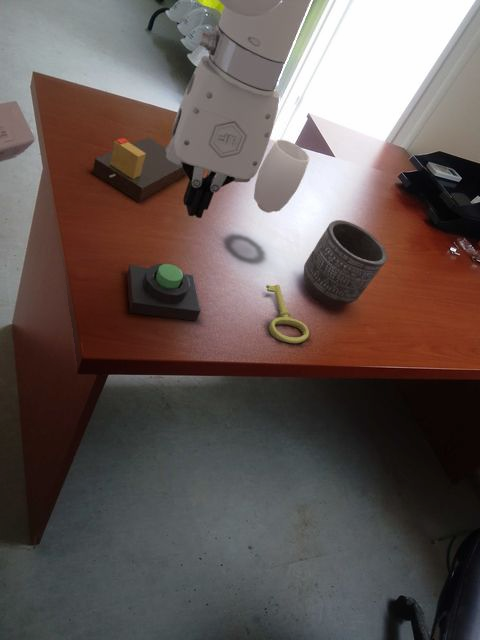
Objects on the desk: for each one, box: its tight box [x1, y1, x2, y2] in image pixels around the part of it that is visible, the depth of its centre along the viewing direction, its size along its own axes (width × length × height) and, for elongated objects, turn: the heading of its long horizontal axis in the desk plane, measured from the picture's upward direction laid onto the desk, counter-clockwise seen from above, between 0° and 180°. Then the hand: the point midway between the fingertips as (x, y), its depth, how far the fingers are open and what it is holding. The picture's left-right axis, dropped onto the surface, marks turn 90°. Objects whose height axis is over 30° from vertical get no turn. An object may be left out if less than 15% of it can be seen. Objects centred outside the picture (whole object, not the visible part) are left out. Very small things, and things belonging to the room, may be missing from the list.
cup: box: [253, 139, 310, 214], centre depth 81 cm, size 7×7×21 cm
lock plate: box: [92, 136, 187, 203], centre depth 88 cm, size 21×10×3 cm, turn 160°
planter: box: [303, 219, 388, 309], centre depth 85 cm, size 12×12×13 cm
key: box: [265, 284, 310, 344], centre depth 78 cm, size 7×12×2 cm, turn 36°
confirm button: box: [156, 263, 183, 289], centre depth 67 cm, size 4×4×2 cm
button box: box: [126, 263, 201, 322], centre depth 68 cm, size 10×8×4 cm
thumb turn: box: [110, 137, 146, 179], centre depth 81 cm, size 5×2×5 cm, turn 68°
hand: (193, 210), depth 59 cm, fingers closed
